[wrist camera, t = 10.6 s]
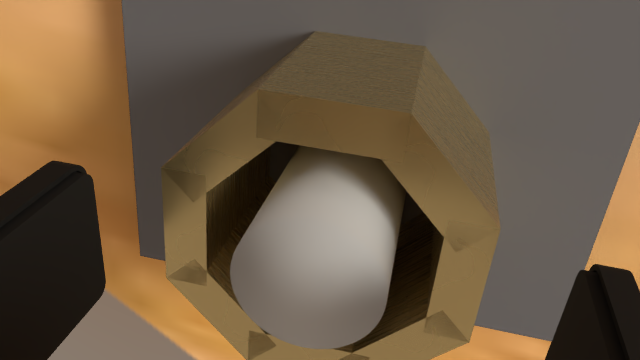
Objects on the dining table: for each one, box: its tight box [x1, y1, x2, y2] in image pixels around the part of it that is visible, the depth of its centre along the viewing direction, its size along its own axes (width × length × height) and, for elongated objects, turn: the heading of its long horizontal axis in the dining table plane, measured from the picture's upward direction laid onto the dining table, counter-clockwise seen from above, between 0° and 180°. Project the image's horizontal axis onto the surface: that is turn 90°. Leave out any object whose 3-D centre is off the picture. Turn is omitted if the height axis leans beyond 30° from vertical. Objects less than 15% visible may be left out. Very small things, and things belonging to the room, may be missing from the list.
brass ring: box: [161, 31, 501, 360], centre depth 14 cm, size 7×7×5 cm
